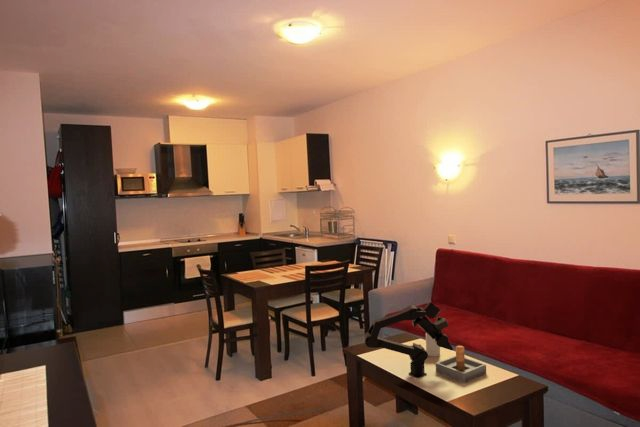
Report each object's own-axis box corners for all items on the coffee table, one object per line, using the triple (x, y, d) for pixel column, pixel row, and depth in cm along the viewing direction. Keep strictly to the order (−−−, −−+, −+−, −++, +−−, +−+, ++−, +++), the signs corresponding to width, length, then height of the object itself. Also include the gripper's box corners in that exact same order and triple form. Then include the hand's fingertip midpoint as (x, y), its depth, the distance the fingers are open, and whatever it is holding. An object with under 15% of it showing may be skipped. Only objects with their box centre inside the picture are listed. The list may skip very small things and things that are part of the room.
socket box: (463, 383, 205) (463, 373, 205) (435, 371, 219) (435, 363, 219) (486, 373, 214) (485, 364, 214) (458, 363, 228) (457, 354, 228)
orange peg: (463, 374, 214) (463, 348, 213) (455, 373, 216) (454, 347, 215) (465, 371, 217) (465, 346, 217) (457, 370, 219) (457, 345, 219)
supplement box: (440, 356, 239) (439, 333, 238) (426, 356, 240) (425, 333, 240) (439, 351, 246) (438, 329, 246) (426, 351, 248) (425, 329, 247)
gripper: (443, 318, 206) (467, 340, 206) (433, 308, 225) (455, 328, 225) (427, 336, 206) (451, 357, 207) (418, 324, 225) (440, 344, 225)
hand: (449, 346), depth 216 cm, fingers open, 9 cm apart
